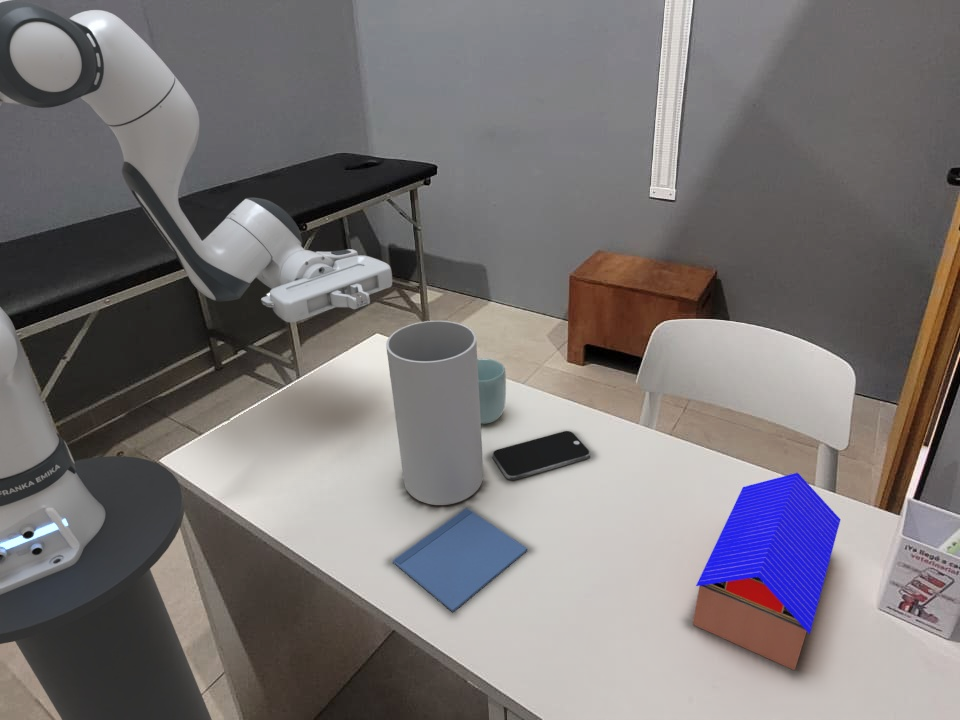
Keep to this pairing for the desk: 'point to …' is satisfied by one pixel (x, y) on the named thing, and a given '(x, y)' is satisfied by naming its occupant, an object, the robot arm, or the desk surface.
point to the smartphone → (540, 455)
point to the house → (768, 568)
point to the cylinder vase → (437, 410)
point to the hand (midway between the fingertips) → (362, 301)
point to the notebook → (459, 558)
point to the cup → (491, 389)
